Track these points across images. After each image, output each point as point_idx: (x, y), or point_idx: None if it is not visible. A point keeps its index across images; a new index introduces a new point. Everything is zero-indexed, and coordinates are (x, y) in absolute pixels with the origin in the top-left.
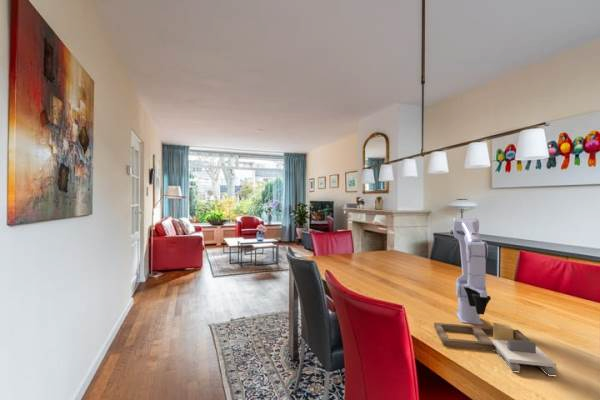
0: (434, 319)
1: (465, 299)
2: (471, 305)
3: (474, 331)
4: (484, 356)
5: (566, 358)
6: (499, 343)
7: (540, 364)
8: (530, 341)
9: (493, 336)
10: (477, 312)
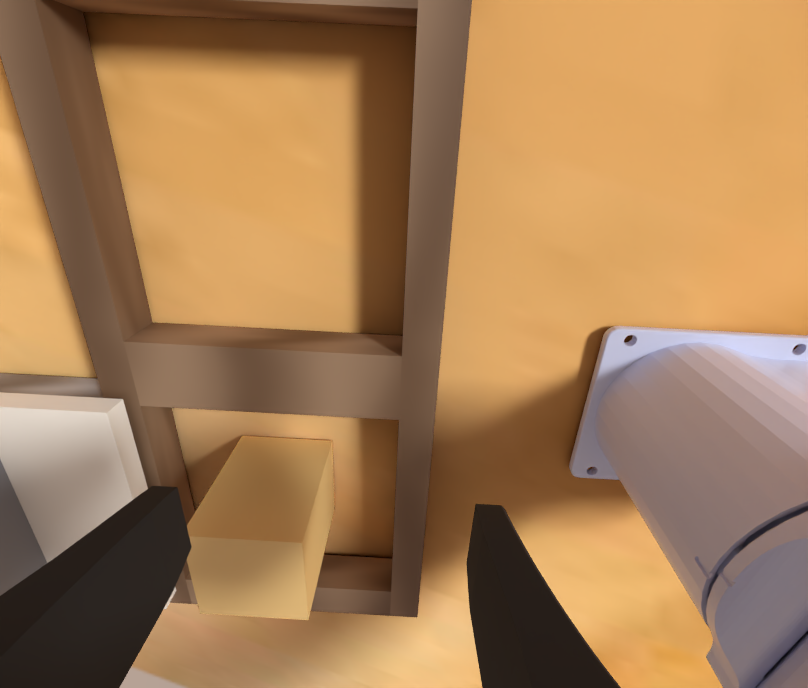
0: (728, 36)
1: (796, 539)
2: (475, 527)
3: (339, 349)
4: (19, 279)
5: (209, 641)
6: (52, 435)
7: None
8: None
9: (324, 452)
10: (130, 503)
